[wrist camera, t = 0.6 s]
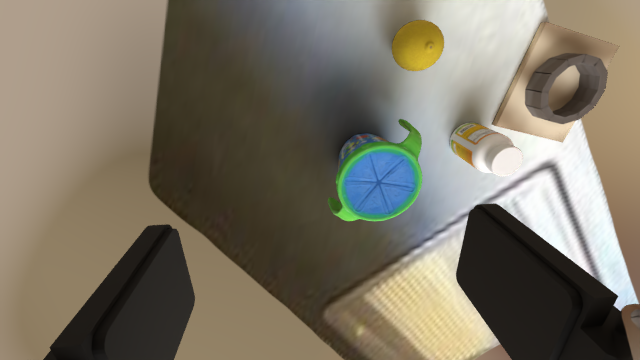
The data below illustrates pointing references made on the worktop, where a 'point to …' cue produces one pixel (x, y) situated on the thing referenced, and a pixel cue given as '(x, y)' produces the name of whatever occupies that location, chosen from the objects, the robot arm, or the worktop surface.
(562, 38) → the collar board
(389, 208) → the snack cup
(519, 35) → the worktop surface
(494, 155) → the supplement bottle
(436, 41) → the lemon
